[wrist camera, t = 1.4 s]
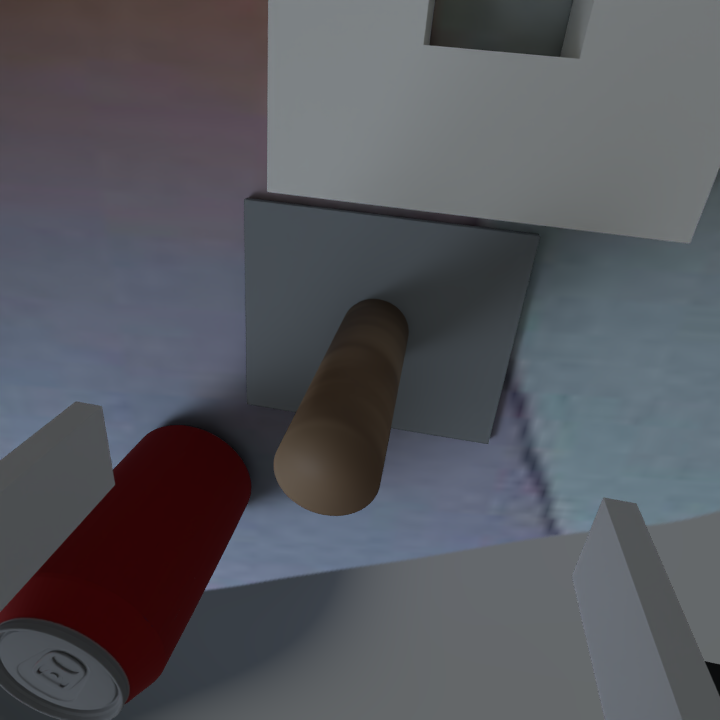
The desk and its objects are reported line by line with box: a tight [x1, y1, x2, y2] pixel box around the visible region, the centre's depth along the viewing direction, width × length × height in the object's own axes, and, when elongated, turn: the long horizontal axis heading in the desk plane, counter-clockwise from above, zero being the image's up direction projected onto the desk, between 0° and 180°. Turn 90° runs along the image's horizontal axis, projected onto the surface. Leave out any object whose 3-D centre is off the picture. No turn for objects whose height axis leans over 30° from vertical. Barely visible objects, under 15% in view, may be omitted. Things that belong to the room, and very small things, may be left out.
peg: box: [274, 299, 409, 516], centre depth 19 cm, size 3×3×10 cm
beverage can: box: [0, 425, 251, 720], centre depth 24 cm, size 7×7×12 cm
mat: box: [244, 198, 540, 444], centre depth 23 cm, size 12×10×1 cm
